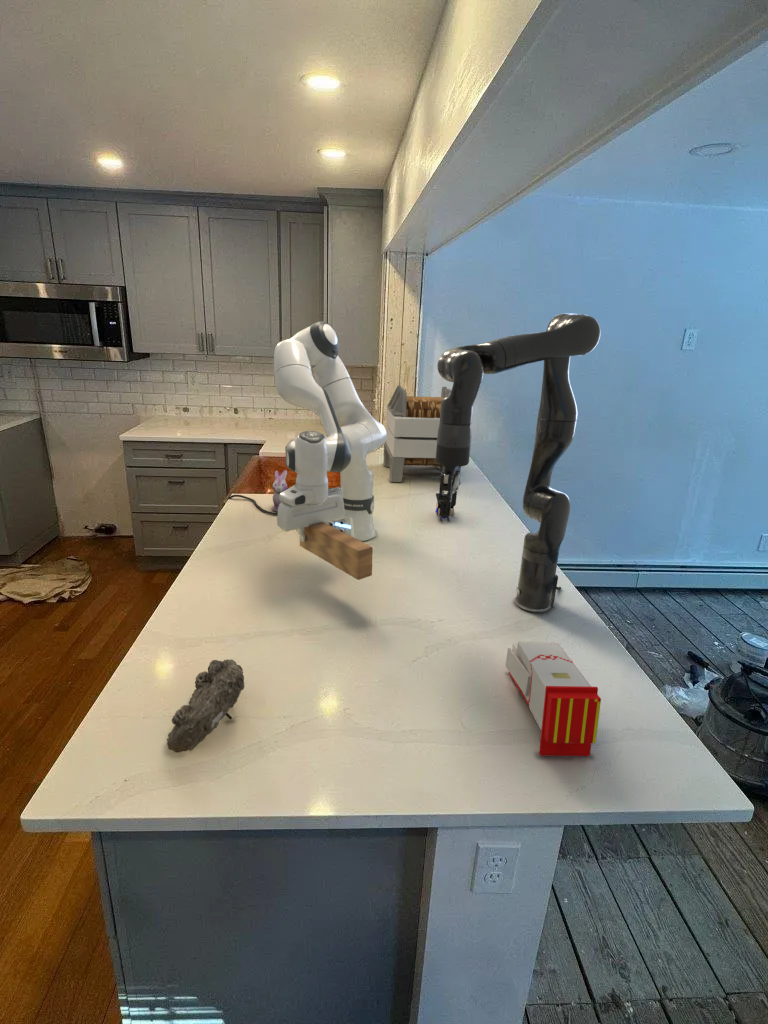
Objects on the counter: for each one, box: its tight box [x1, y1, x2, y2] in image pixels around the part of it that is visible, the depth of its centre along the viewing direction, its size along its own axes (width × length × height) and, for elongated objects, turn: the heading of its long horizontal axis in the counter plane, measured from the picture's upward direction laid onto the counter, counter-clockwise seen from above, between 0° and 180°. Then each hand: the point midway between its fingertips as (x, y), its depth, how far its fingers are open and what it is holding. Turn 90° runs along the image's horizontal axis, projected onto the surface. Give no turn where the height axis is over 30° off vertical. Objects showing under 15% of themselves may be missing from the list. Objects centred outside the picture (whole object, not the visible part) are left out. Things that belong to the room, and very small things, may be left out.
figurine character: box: [435, 492, 455, 522], centre depth 217 cm, size 7×8×15 cm
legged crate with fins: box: [383, 384, 452, 483], centre depth 268 cm, size 34×33×41 cm
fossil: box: [166, 658, 245, 754], centre depth 106 cm, size 22×10×15 cm
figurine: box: [272, 469, 290, 512], centre depth 217 cm, size 9×10×15 cm
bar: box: [299, 522, 374, 581], centre depth 152 cm, size 27×4×8 cm, turn 40°
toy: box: [505, 641, 602, 757], centre depth 113 cm, size 12×13×30 cm
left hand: (312, 538), depth 159 cm, fingers closed on bar, 4 cm apart
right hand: (447, 510), depth 132 cm, fingers open, 8 cm apart
